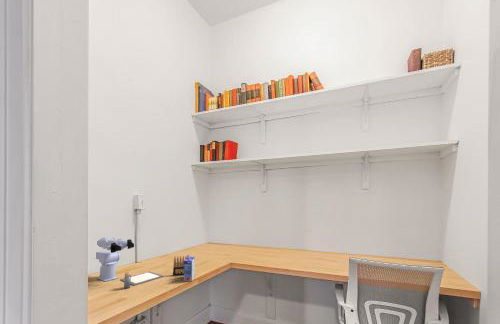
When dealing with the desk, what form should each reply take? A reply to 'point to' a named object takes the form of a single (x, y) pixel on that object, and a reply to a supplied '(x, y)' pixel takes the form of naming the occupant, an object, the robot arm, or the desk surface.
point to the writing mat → (143, 278)
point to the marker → (127, 280)
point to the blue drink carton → (189, 268)
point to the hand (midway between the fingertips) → (127, 247)
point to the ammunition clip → (178, 266)
